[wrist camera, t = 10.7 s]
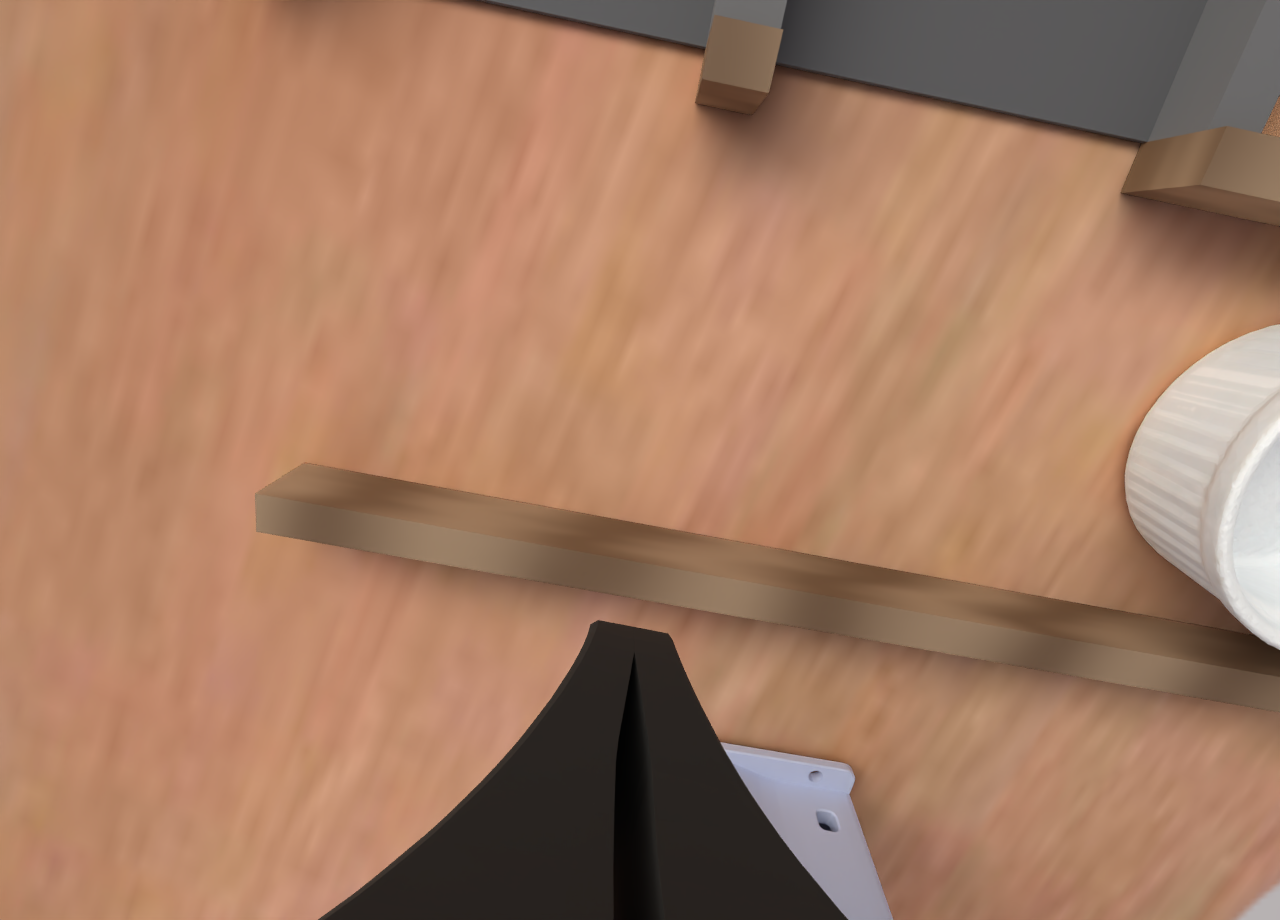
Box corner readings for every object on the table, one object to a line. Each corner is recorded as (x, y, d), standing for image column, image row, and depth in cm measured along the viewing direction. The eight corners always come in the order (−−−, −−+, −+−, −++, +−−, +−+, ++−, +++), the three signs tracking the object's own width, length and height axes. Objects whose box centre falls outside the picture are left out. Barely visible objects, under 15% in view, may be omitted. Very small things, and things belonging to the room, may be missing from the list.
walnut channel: (1587, 238, 16) (1825, 238, 13) (1291, 674, 21) (1410, 754, 18) (304, -37, 15) (203, -116, 12) (304, 496, 20) (233, 548, 16)
